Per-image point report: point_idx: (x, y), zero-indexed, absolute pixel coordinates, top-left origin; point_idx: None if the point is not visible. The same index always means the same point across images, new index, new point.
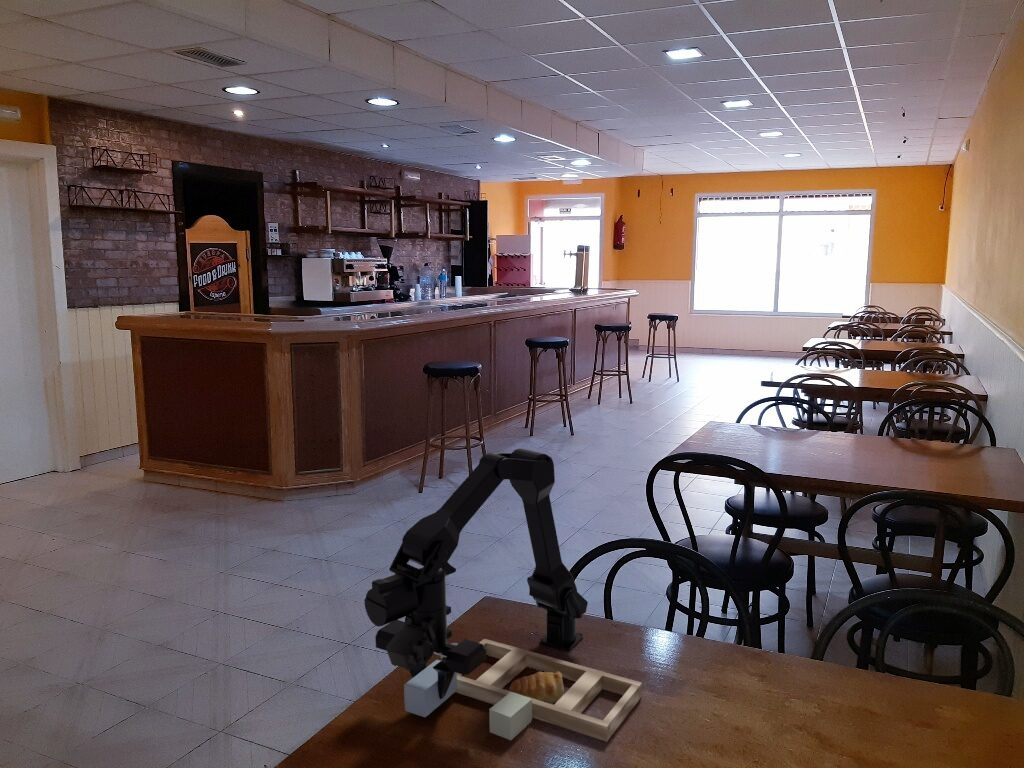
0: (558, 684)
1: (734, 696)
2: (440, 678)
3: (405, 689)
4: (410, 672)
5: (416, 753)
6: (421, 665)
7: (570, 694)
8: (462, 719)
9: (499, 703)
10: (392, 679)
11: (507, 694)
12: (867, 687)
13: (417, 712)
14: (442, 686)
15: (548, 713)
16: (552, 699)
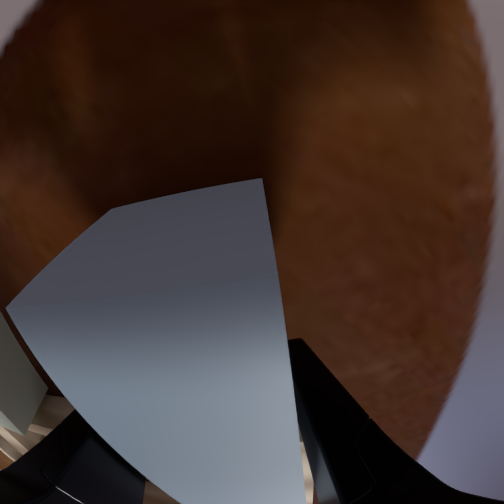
0: None
1: (9, 458)
2: (53, 454)
3: (253, 247)
4: (371, 426)
5: (25, 49)
6: (320, 494)
7: (19, 445)
8: None
9: None
10: (473, 326)
11: (14, 425)
12: (3, 467)
13: (157, 202)
14: (76, 410)
15: None
16: (45, 436)
